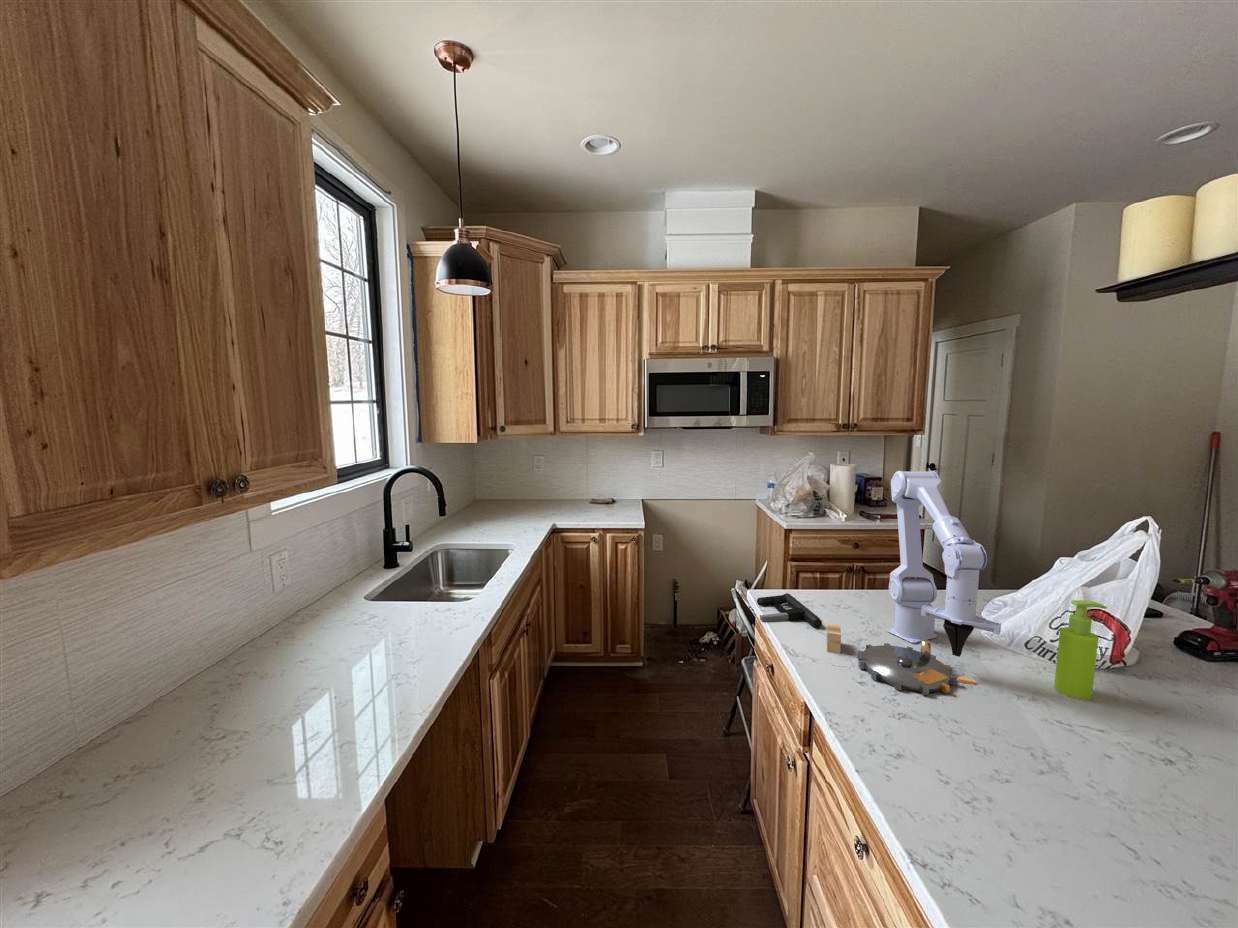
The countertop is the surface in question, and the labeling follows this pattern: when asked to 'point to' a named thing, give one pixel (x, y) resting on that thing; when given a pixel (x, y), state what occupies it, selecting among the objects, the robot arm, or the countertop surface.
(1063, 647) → the soap dispenser
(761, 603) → the submachine gun
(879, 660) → the sprocket
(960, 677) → the timing pointer
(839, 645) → the tan wooden block
